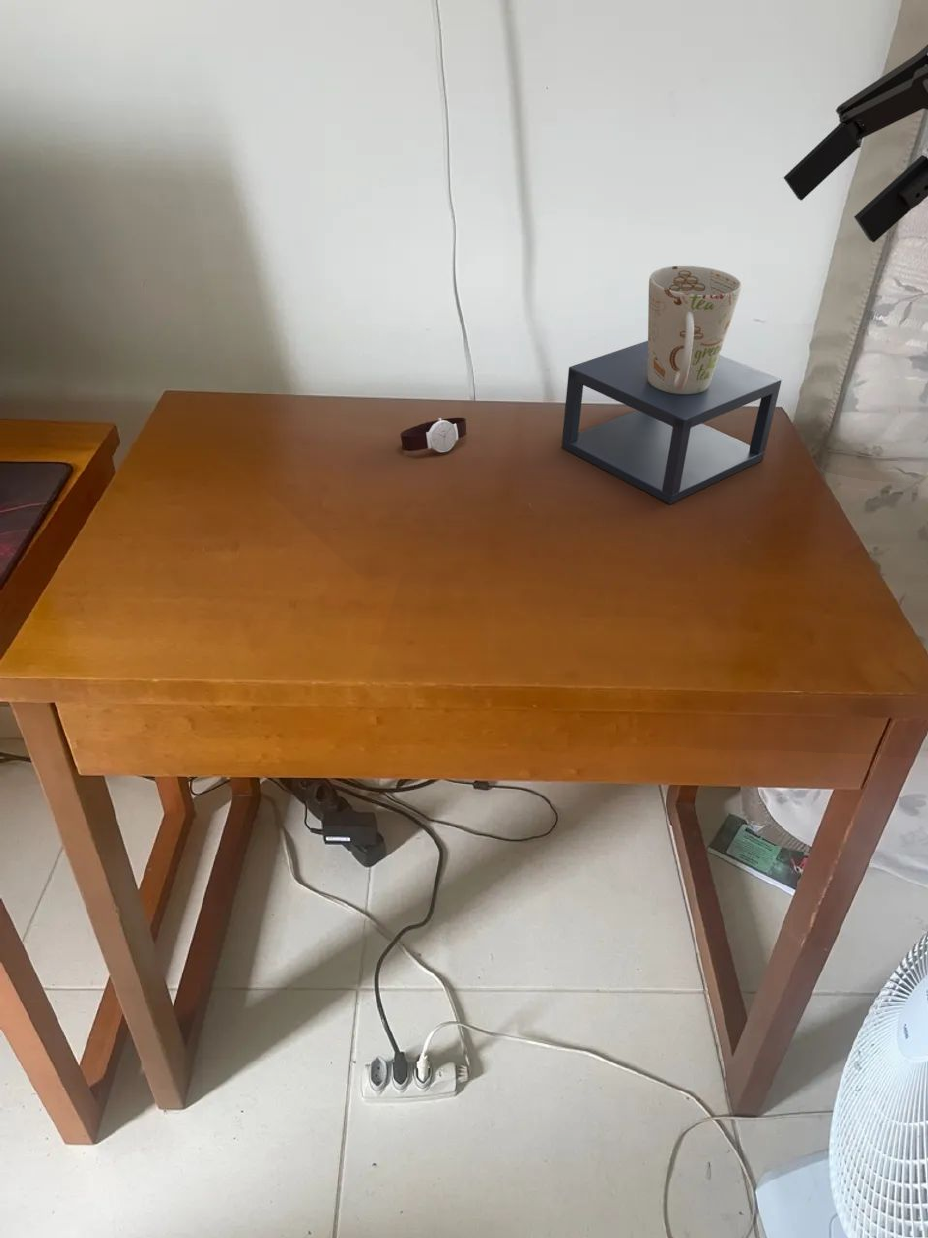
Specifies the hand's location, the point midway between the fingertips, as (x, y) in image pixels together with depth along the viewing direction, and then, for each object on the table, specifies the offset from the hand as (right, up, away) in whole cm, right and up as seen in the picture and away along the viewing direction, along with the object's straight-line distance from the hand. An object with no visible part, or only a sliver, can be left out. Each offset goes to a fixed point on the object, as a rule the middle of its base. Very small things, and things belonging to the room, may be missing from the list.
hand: (825, 208), depth 86 cm
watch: (-35, -18, +18) cm, 43 cm away
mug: (-11, -14, +8) cm, 20 cm away
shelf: (-11, -19, +17) cm, 28 cm away
